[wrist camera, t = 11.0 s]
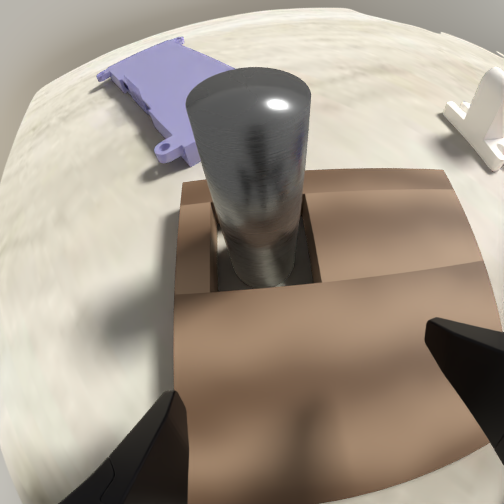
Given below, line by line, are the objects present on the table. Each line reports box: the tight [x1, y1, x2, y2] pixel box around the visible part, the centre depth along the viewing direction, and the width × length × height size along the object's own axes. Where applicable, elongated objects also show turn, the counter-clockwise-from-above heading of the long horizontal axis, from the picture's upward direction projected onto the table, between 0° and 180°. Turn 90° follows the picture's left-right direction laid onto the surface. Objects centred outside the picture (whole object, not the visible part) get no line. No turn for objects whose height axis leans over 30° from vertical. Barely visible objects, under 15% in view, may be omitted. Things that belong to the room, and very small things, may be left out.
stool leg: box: [185, 67, 311, 288], centre depth 13 cm, size 4×4×12 cm
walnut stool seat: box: [173, 168, 503, 504], centre depth 15 cm, size 20×20×2 cm
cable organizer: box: [443, 67, 504, 171], centre depth 20 cm, size 5×10×10 cm, turn 17°
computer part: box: [96, 37, 235, 167], centre depth 28 cm, size 30×4×15 cm
